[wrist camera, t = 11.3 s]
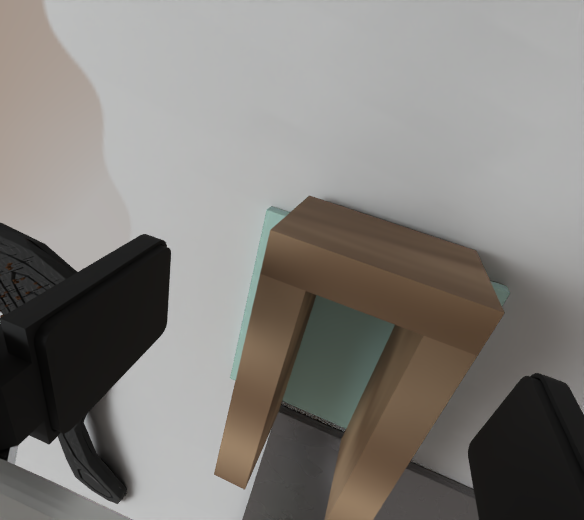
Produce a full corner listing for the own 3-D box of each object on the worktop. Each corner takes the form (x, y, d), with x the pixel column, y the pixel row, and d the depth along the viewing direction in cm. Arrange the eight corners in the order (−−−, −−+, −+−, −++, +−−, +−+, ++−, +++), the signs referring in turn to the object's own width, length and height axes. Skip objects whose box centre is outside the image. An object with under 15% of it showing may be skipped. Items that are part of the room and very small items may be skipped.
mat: (271, 206, 15) (266, 209, 15) (506, 286, 14) (510, 293, 13) (234, 371, 20) (230, 378, 19) (408, 446, 18) (408, 456, 18)
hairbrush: (54, 513, 29) (-110, 224, 18) (89, 471, 32) (-33, 204, 21) (139, 544, 27) (9, 234, 16) (168, 495, 30) (76, 209, 19)
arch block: (309, 195, 14) (270, 229, 10) (476, 250, 13) (504, 312, 9) (253, 400, 20) (214, 474, 16) (368, 451, 18) (356, 544, 15)
